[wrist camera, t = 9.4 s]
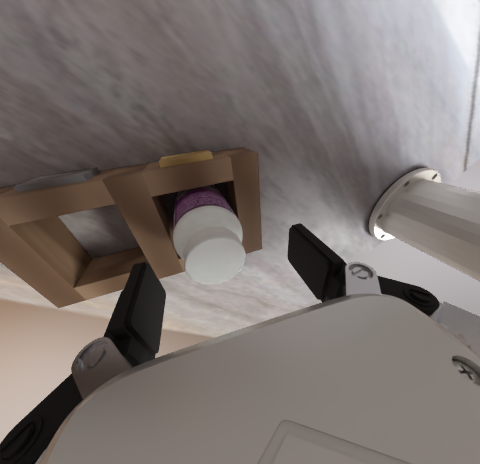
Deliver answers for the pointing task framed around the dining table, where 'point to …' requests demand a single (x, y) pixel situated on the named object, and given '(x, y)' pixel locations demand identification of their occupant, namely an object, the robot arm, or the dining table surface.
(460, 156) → the dining table surface
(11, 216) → the socket block
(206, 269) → the pill bottle
